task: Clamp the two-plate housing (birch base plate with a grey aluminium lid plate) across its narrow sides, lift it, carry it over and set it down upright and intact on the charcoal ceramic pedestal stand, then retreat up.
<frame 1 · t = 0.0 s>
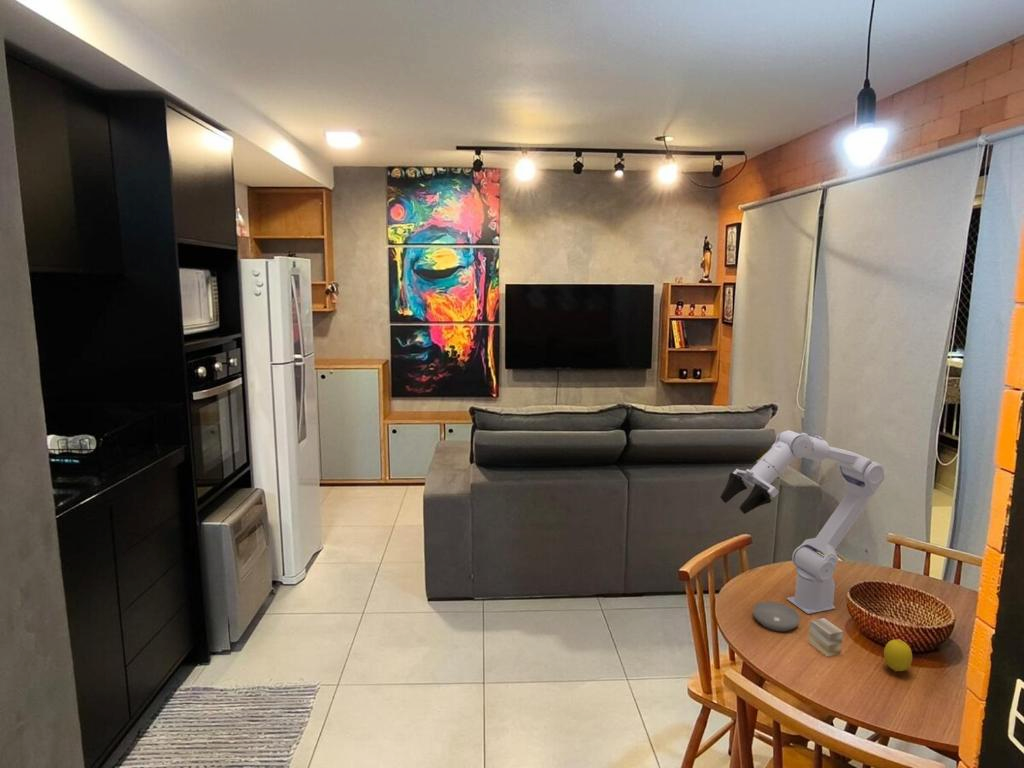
hand: (732, 505, 156), 32 cm above the table, tool tilted 50°, fingers open, 7 cm apart
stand: (775, 621, 163), on the table
housing: (824, 648, 152), on the table
lemon: (895, 671, 143), on the table
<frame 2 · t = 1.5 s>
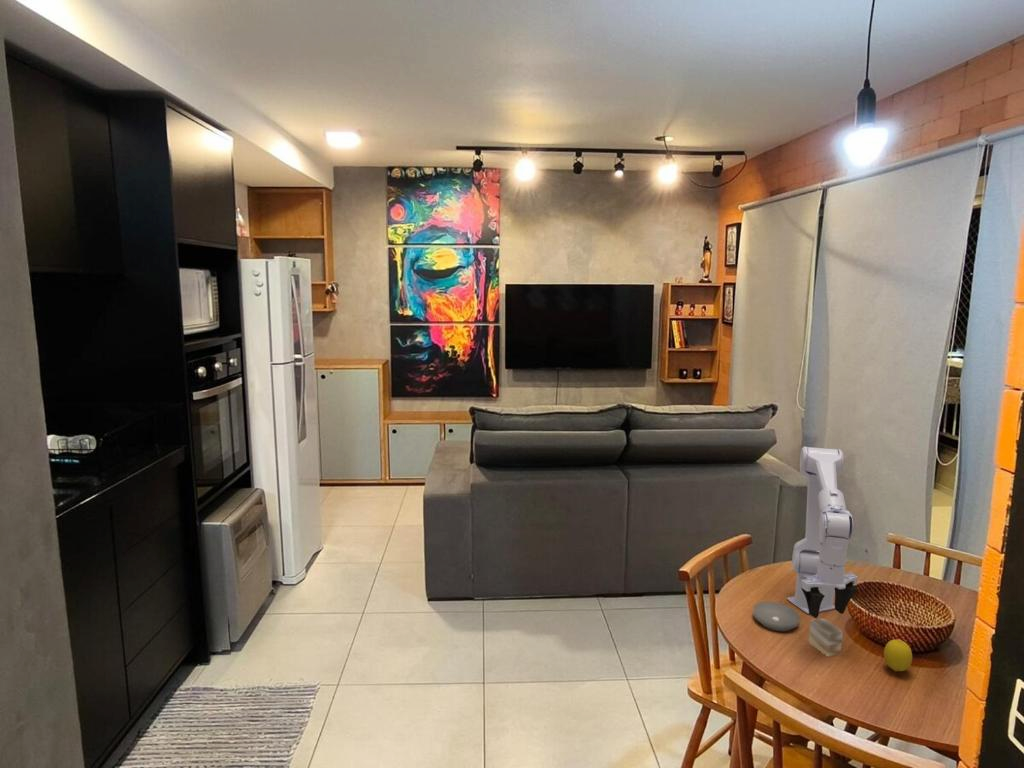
hand: (826, 613, 150), 9 cm above the table, tool pointing down, fingers open, 7 cm apart
nothing on the table moved.
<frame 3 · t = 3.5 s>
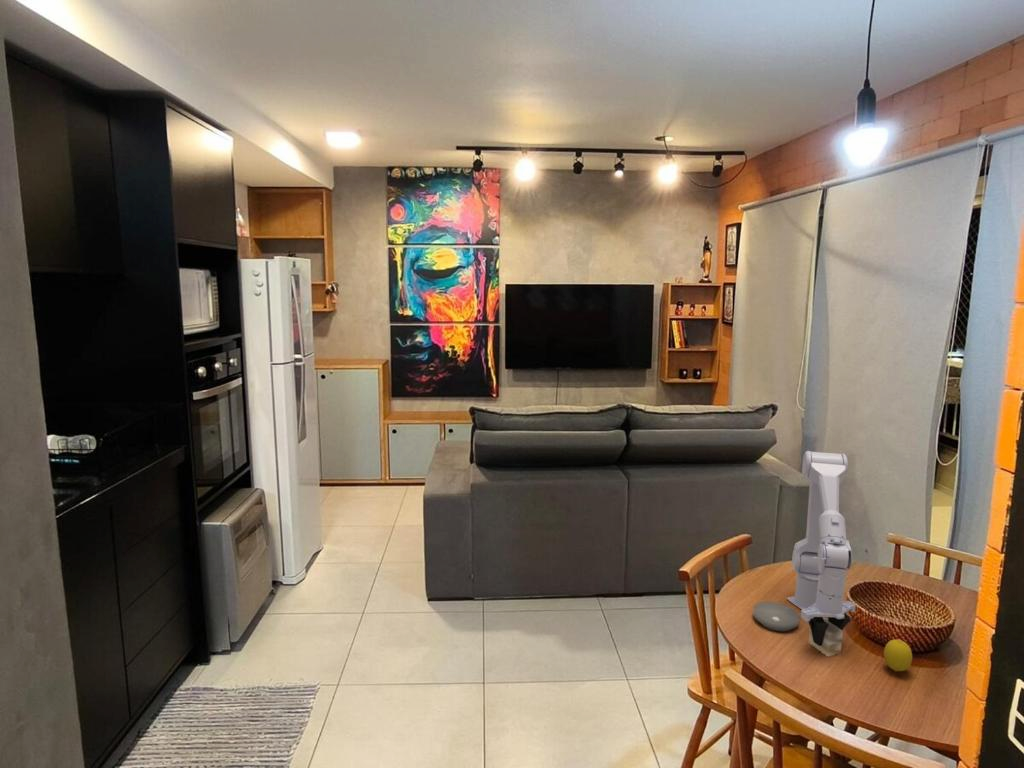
hand: (824, 641, 151), 2 cm above the table, tool pointing down, fingers closed on housing, 4 cm apart
housing: (824, 647, 152), on the table, touching gripper
everything else where it was.
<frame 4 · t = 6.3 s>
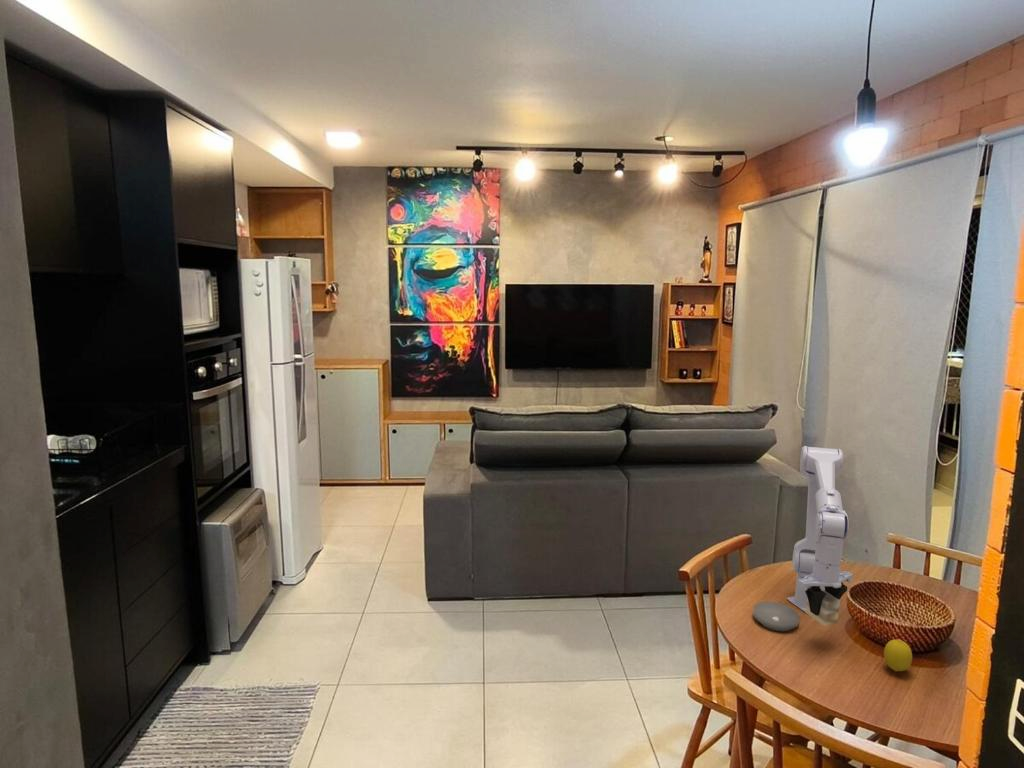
hand: (821, 611, 151), 9 cm above the table, tool pointing down, fingers closed on housing, 4 cm apart
housing: (821, 617, 151), point 7 cm above the table, touching gripper
everything else where it was.
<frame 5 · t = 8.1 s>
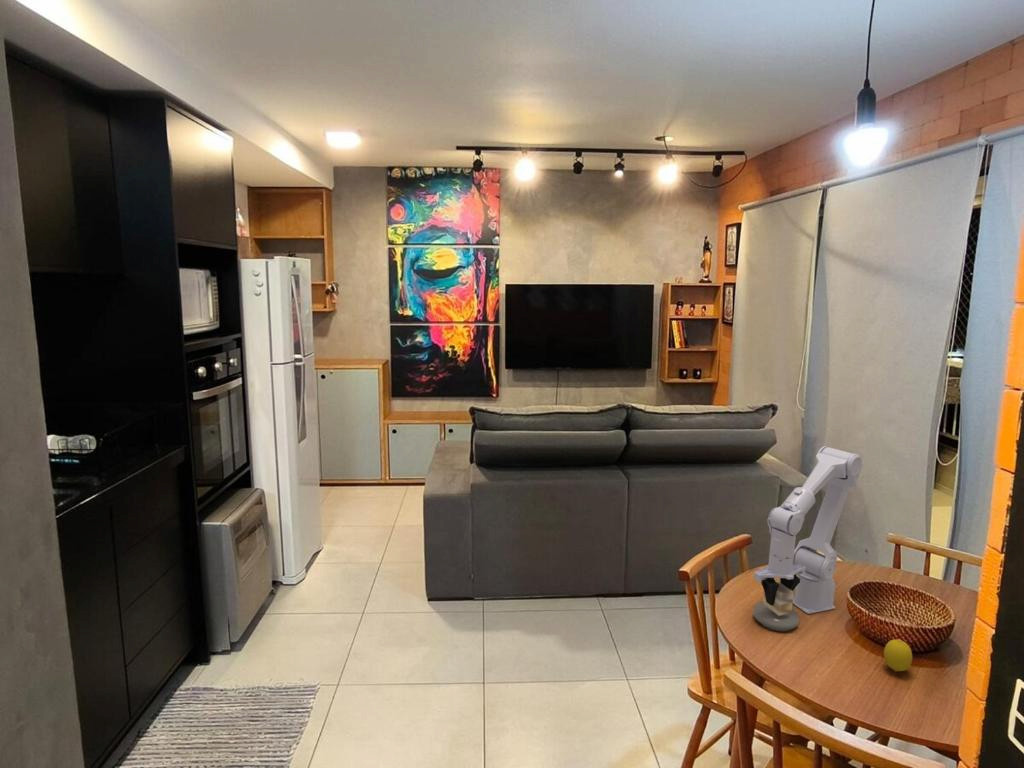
hand: (777, 602, 162), 6 cm above the table, tool pointing down, fingers closed on housing, 4 cm apart
housing: (776, 608, 162), point 4 cm above the table, touching gripper
everything else where it was.
when the fingers open (5 cm above the table, at t = 9.3 s): housing stays where it is, resting on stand.
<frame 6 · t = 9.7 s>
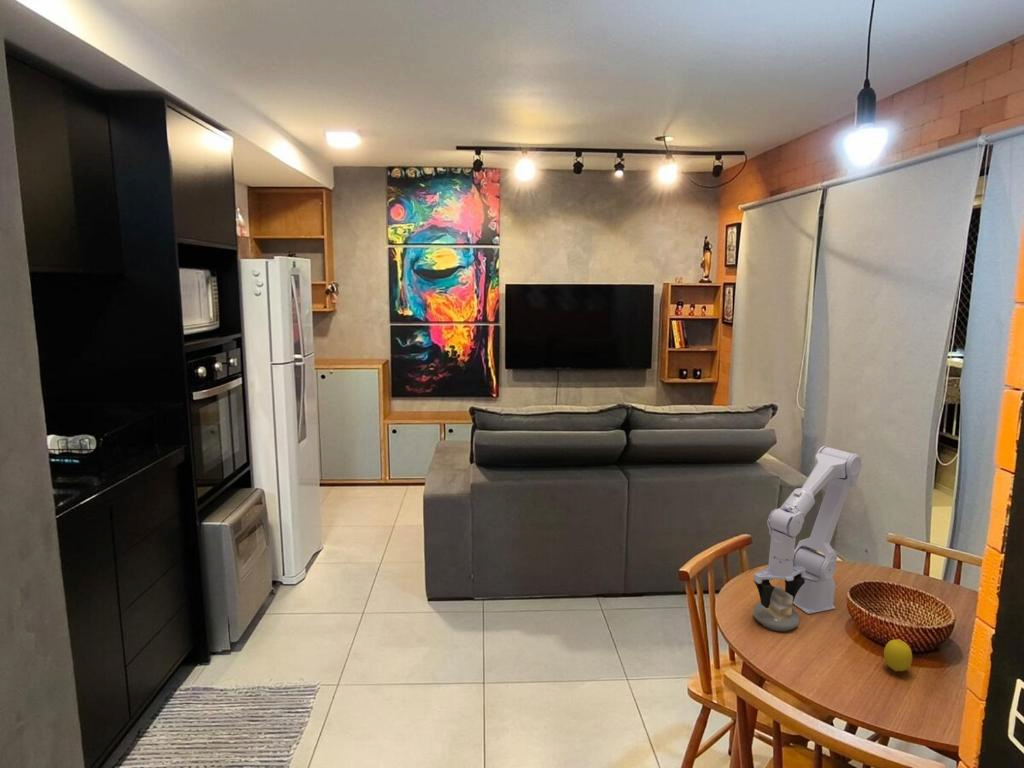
hand: (776, 603, 162), 5 cm above the table, tool pointing down, fingers open, 7 cm apart
housing: (776, 613, 162), point 2 cm above the table, touching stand
everything else where it was.
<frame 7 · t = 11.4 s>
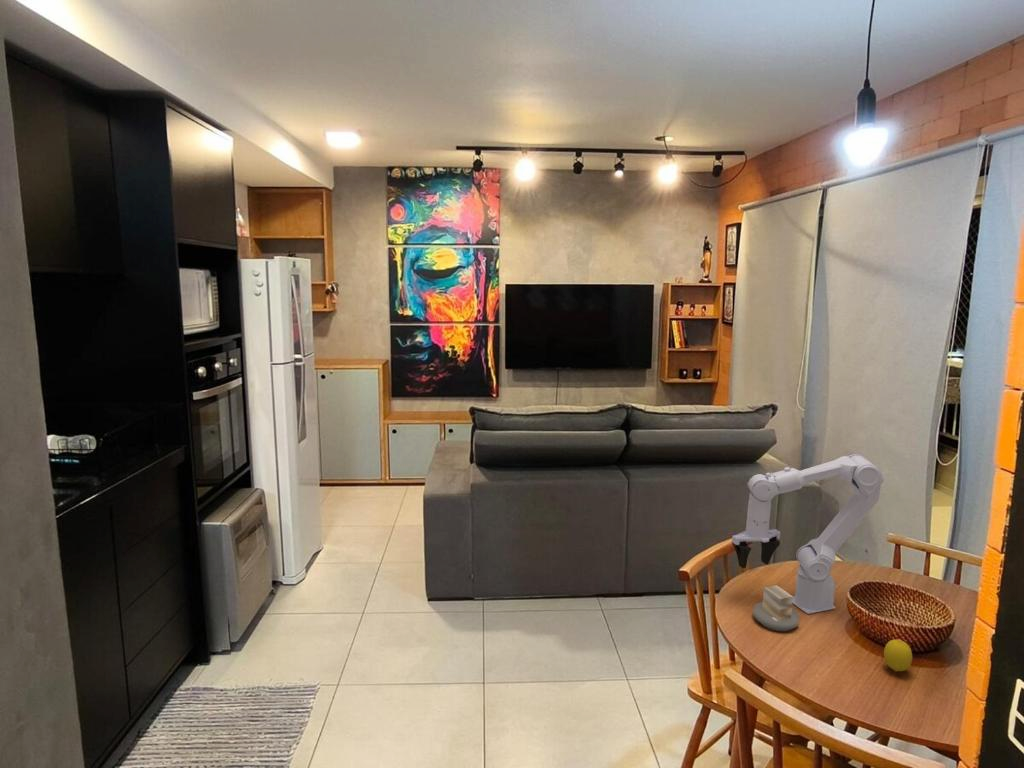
hand: (753, 564, 171), 10 cm above the table, tool pointing down, fingers open, 7 cm apart
nothing on the table moved.
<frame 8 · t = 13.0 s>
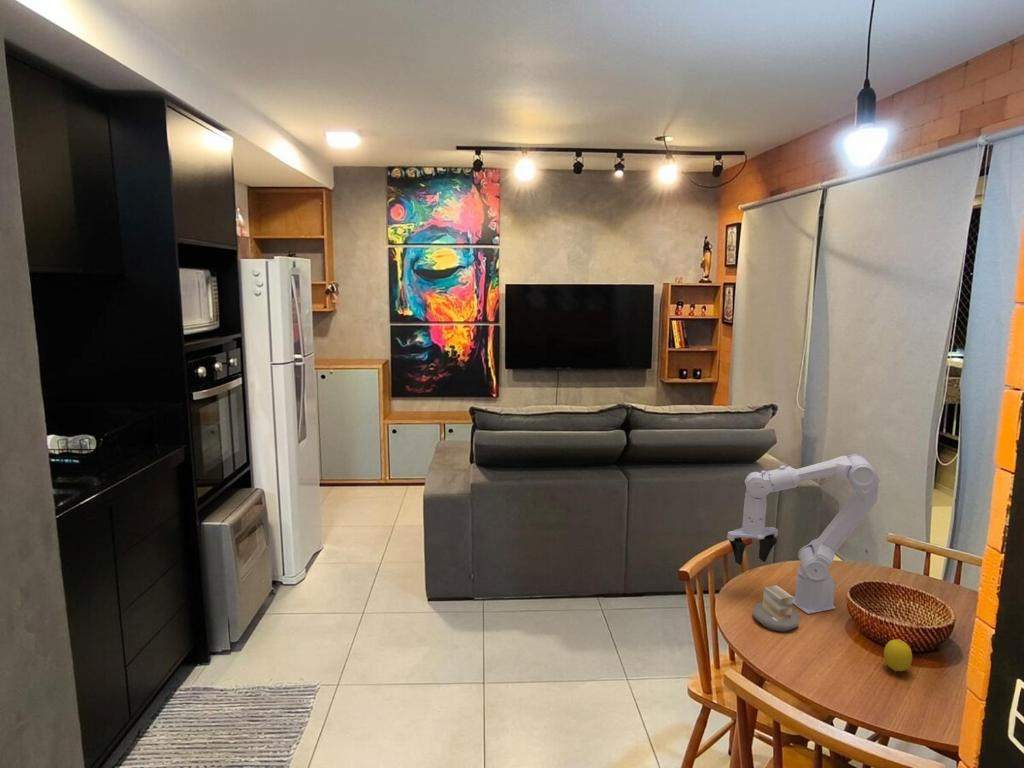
hand: (750, 561, 173), 10 cm above the table, tool pointing down, fingers open, 7 cm apart
nothing on the table moved.
at the end: housing 0.1 cm off-centre on the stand, point 2.5 cm above the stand's base; housing tilted 0°; the gripper is holding nothing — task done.
